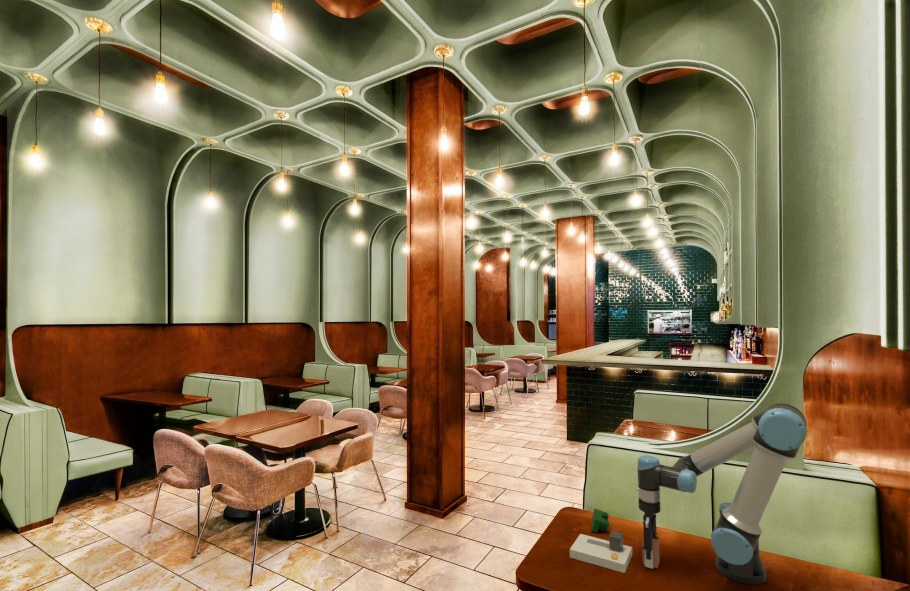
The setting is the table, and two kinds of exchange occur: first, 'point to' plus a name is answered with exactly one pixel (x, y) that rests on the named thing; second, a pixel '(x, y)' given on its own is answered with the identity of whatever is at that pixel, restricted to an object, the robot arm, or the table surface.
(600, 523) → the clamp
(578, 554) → the block
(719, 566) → the robot arm
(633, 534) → the table surface
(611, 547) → the breaker toggle
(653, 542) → the post
